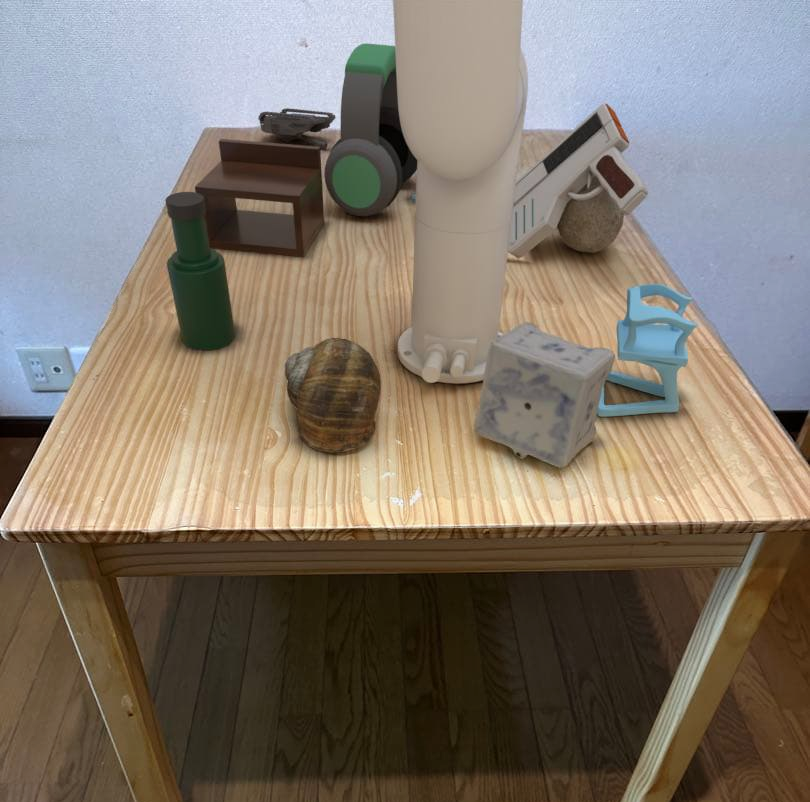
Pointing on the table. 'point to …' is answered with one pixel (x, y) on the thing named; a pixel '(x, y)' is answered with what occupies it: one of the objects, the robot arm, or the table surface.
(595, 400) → the incense holder
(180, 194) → the bottle
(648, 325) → the chair
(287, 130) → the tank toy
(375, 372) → the seashell
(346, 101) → the headphones
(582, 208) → the decorative stone
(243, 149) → the box
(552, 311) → the table surface
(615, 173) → the futuristic handgun
